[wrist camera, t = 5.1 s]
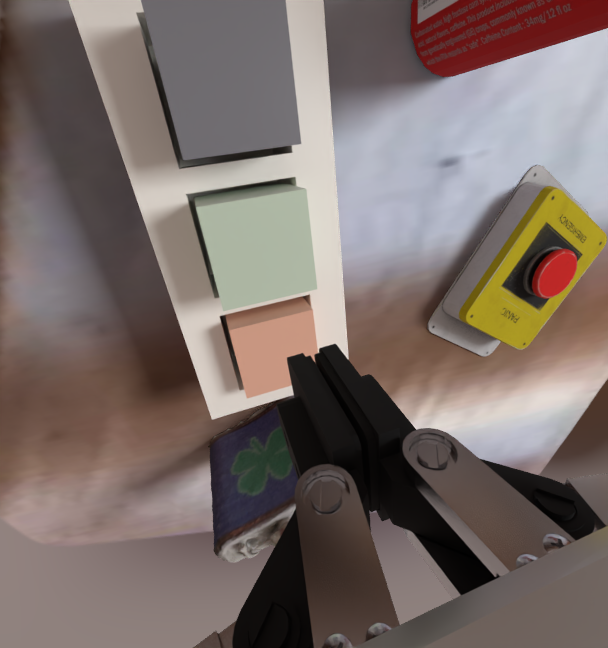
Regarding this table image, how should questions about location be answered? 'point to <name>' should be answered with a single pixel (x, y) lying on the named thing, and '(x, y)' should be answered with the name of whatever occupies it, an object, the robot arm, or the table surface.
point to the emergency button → (520, 268)
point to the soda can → (496, 29)
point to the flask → (251, 485)
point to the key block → (217, 183)
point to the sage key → (258, 243)
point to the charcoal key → (226, 73)
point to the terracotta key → (271, 342)
